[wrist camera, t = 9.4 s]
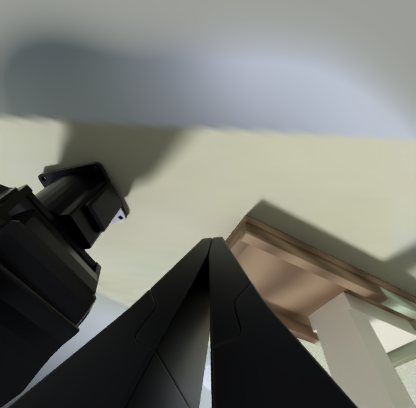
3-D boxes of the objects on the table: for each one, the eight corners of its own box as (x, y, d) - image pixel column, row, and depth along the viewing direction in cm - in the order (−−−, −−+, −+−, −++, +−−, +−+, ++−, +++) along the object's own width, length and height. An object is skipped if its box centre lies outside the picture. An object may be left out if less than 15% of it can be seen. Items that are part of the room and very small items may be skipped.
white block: (308, 316, 30) (345, 431, 21) (343, 291, 27) (404, 414, 18) (370, 341, 32) (428, 455, 23) (408, 321, 29) (494, 444, 20)
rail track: (194, 281, 29) (190, 310, 26) (245, 215, 23) (249, 241, 20) (358, 345, 35) (373, 376, 31) (434, 306, 29) (462, 339, 25)
